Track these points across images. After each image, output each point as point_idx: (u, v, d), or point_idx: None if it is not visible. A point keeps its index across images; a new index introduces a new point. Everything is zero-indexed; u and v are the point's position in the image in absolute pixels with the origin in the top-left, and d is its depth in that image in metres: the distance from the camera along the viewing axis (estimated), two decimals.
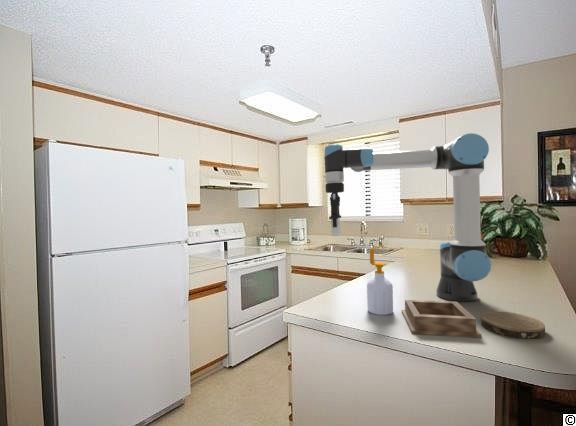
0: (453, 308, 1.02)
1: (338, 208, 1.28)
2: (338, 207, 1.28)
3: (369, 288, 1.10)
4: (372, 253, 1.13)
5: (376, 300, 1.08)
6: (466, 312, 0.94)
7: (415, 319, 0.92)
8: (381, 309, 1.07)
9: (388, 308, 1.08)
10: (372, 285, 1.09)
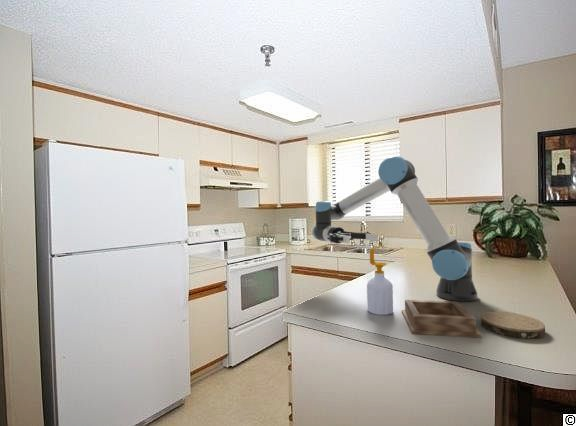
0: (453, 308, 1.02)
1: (355, 233, 1.31)
2: (353, 233, 1.32)
3: (369, 288, 1.10)
4: (372, 253, 1.13)
5: (376, 300, 1.08)
6: (466, 312, 0.94)
7: (415, 319, 0.92)
8: (381, 309, 1.07)
9: (388, 308, 1.08)
10: (372, 285, 1.09)
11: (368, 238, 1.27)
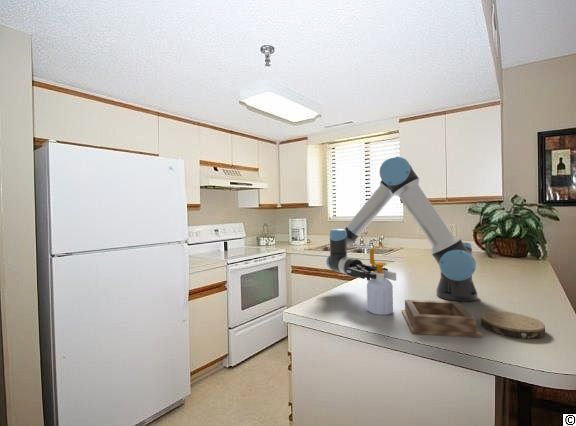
0: (453, 308, 1.02)
1: (371, 268, 1.19)
2: (370, 268, 1.19)
3: (369, 288, 1.10)
4: (372, 253, 1.13)
5: (376, 300, 1.08)
6: (466, 312, 0.94)
7: (415, 319, 0.92)
8: (381, 309, 1.07)
9: (388, 308, 1.08)
10: (372, 285, 1.09)
11: (385, 276, 1.12)
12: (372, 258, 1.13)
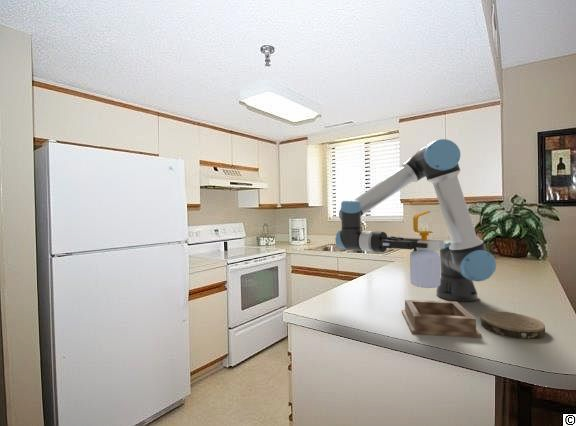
0: (453, 308, 1.02)
1: (406, 239, 1.06)
2: (404, 239, 1.06)
3: (418, 259, 0.97)
4: None
5: (429, 271, 0.96)
6: (466, 312, 0.94)
7: (415, 319, 0.92)
8: (434, 281, 0.96)
9: (439, 279, 0.97)
10: (423, 255, 0.96)
11: None
12: None
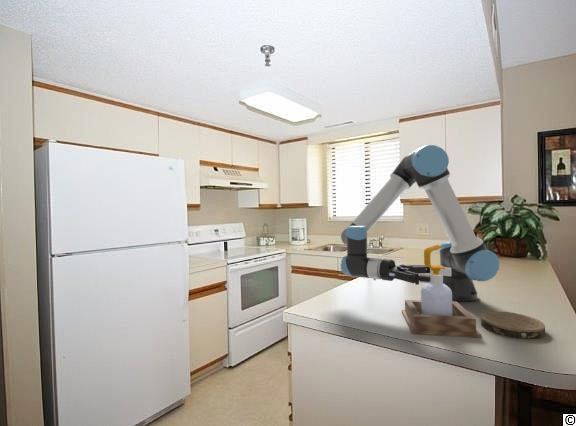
0: (453, 308, 1.02)
1: (415, 267, 1.06)
2: (414, 267, 1.06)
3: (432, 296, 0.95)
4: None
5: (442, 309, 0.94)
6: (466, 312, 0.94)
7: (415, 319, 0.92)
8: None
9: None
10: (436, 292, 0.95)
11: None
12: None
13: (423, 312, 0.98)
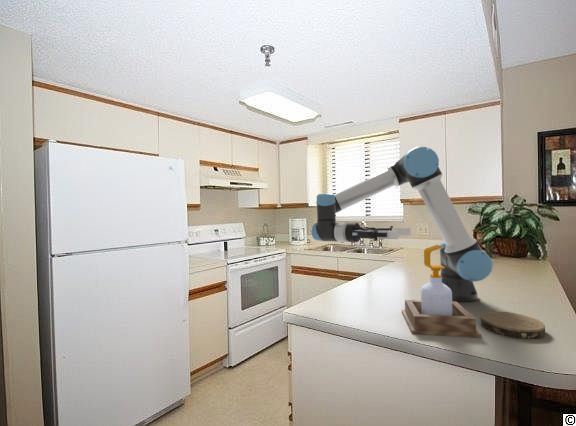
0: (453, 308, 1.02)
1: (378, 229, 1.14)
2: (377, 229, 1.14)
3: (432, 296, 0.95)
4: None
5: (442, 309, 0.94)
6: (466, 312, 0.94)
7: (415, 319, 0.92)
8: None
9: None
10: (436, 292, 0.95)
11: None
12: None
13: (423, 312, 0.98)
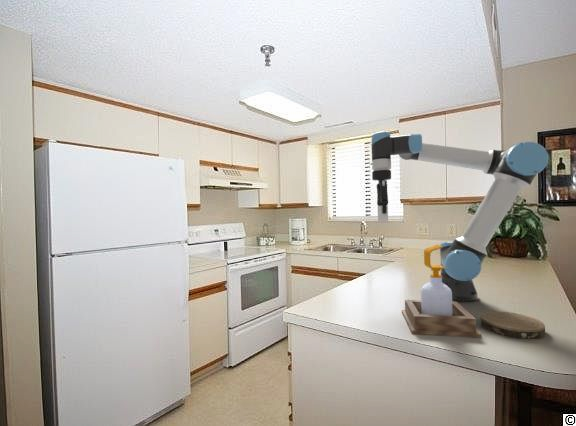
0: (453, 308, 1.02)
1: None
2: None
3: (432, 296, 0.95)
4: None
5: (442, 309, 0.94)
6: (466, 312, 0.94)
7: (415, 319, 0.92)
8: None
9: None
10: (436, 292, 0.95)
11: (379, 210, 1.32)
12: None
13: (423, 312, 0.98)
